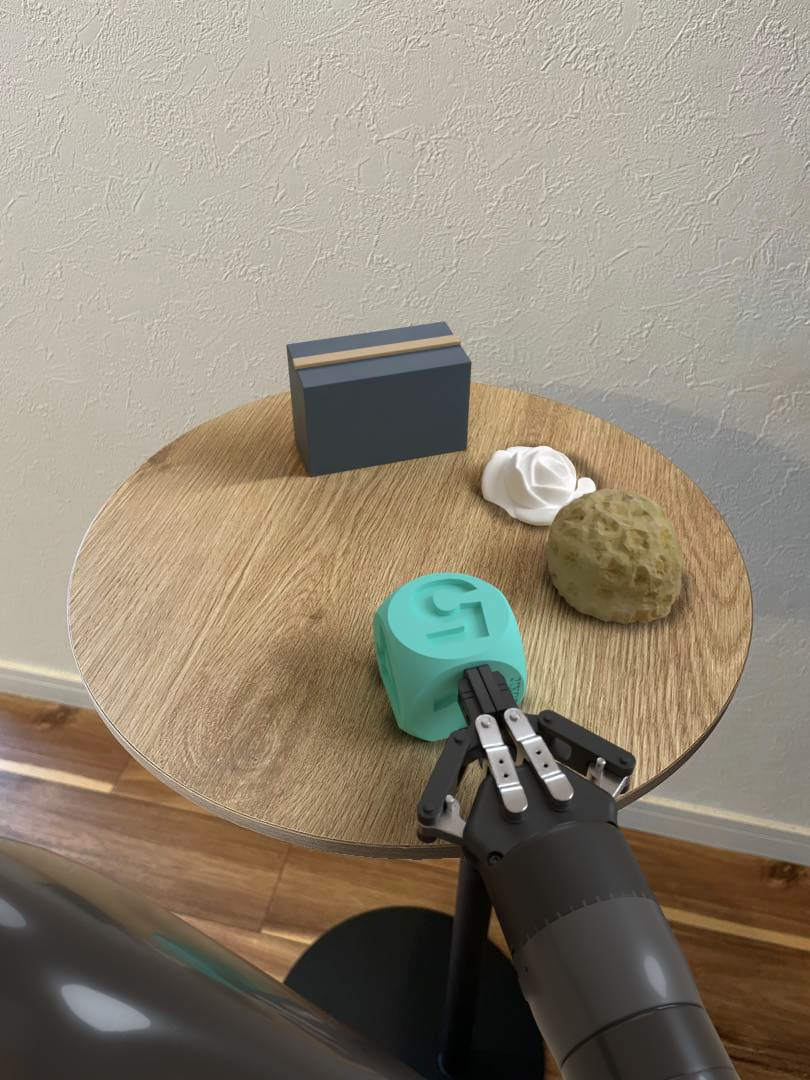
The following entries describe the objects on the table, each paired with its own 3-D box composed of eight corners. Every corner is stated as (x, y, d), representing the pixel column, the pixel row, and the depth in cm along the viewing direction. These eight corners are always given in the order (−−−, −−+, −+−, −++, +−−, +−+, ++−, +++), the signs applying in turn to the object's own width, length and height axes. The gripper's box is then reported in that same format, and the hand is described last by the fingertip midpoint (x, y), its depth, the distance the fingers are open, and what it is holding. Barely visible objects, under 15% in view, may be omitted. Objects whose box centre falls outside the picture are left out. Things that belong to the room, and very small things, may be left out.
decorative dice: (406, 757, 62) (404, 674, 57) (374, 666, 68) (370, 584, 62) (523, 728, 63) (532, 645, 58) (482, 642, 69) (487, 559, 64)
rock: (586, 677, 72) (670, 629, 64) (497, 554, 73) (568, 492, 65) (660, 619, 77) (745, 568, 69) (575, 506, 79) (650, 443, 71)
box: (310, 487, 83) (302, 385, 76) (294, 441, 88) (285, 340, 81) (467, 460, 86) (472, 358, 79) (442, 416, 91) (445, 317, 84)
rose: (466, 427, 82) (575, 412, 83) (464, 469, 85) (569, 454, 86) (502, 501, 74) (620, 483, 76) (499, 544, 77) (612, 526, 79)
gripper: (734, 870, 45) (583, 610, 57) (462, 947, 42) (366, 656, 55) (701, 945, 50) (568, 691, 62) (456, 1017, 47) (369, 737, 60)
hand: (474, 675), depth 58 cm, fingers closed
